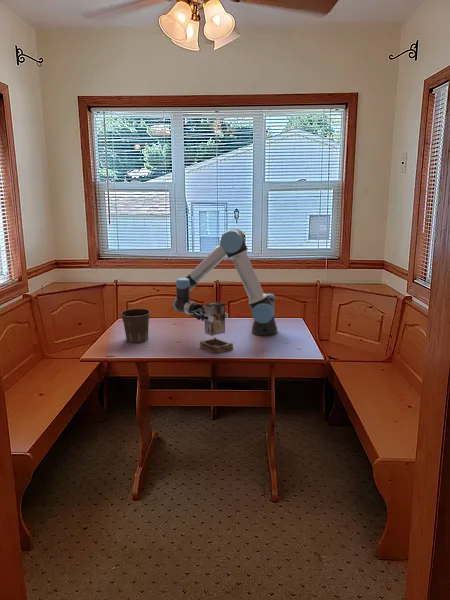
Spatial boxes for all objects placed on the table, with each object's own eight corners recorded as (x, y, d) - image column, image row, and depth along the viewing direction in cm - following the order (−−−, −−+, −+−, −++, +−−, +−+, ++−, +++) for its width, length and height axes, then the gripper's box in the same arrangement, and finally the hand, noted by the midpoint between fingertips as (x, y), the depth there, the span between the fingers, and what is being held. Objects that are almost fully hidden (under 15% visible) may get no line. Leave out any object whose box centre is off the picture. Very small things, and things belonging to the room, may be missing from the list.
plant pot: (145, 345, 240) (143, 316, 236) (117, 343, 243) (115, 315, 240) (155, 336, 256) (154, 309, 252) (129, 334, 259) (128, 308, 255)
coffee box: (218, 330, 238) (218, 301, 234) (225, 333, 233) (225, 303, 229) (204, 333, 232) (203, 303, 229) (211, 336, 227) (210, 306, 224)
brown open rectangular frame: (215, 342, 244) (215, 337, 243) (233, 349, 233) (233, 343, 232) (199, 346, 237) (198, 341, 236) (217, 354, 226) (217, 348, 225)
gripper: (209, 312, 251) (235, 320, 235) (177, 319, 237) (203, 328, 221) (209, 299, 249) (235, 307, 233) (177, 305, 235) (203, 314, 219)
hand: (220, 317), depth 227 cm, fingers closed on coffee box, 9 cm apart
